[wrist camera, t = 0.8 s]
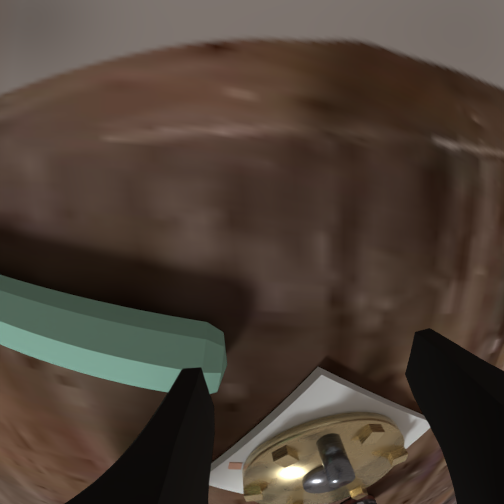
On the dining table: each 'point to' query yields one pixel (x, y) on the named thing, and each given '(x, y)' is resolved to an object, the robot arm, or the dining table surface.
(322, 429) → the brass round disc
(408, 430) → the dial plate
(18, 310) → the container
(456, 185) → the dining table surface
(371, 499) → the supplement bottle
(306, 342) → the dining table surface
